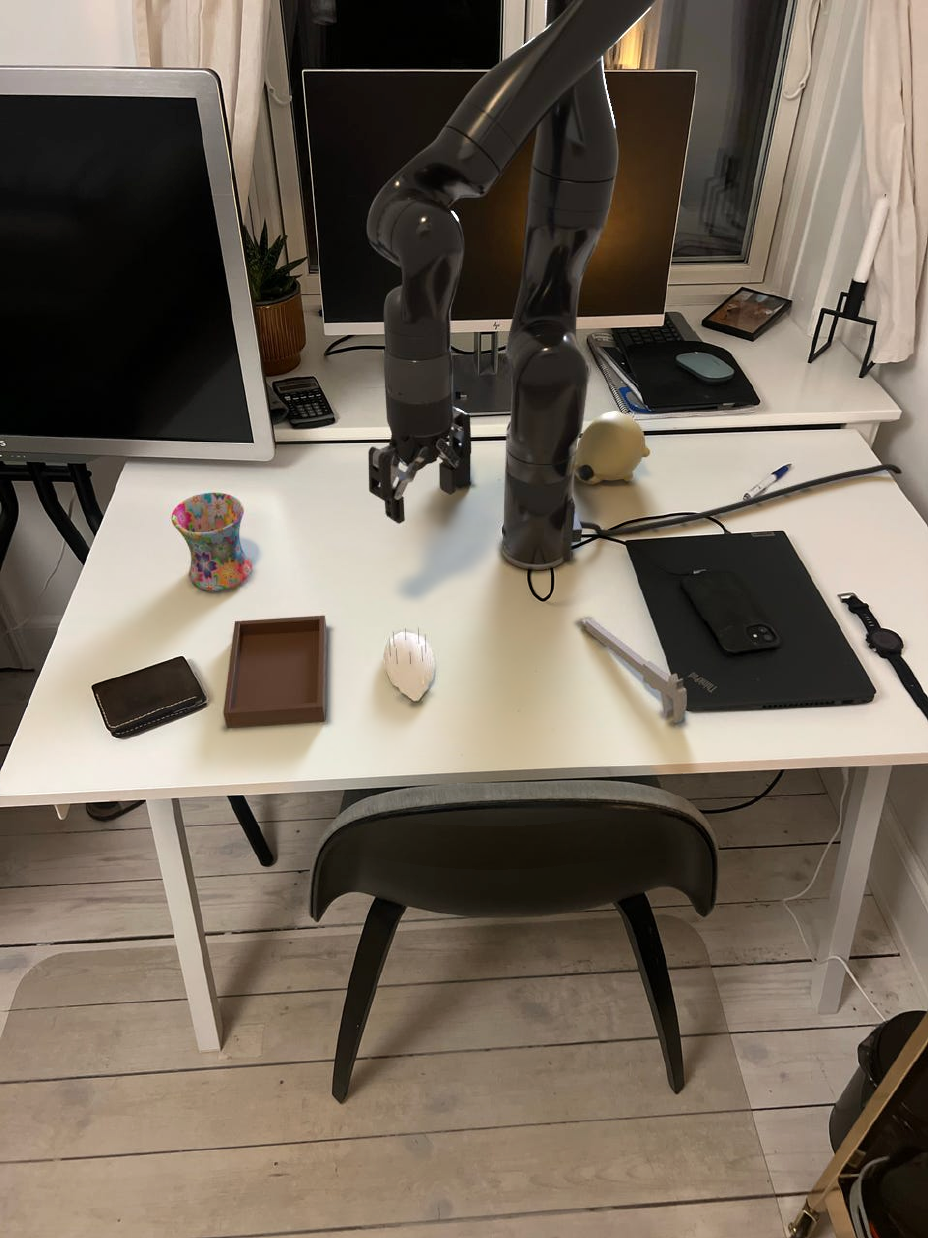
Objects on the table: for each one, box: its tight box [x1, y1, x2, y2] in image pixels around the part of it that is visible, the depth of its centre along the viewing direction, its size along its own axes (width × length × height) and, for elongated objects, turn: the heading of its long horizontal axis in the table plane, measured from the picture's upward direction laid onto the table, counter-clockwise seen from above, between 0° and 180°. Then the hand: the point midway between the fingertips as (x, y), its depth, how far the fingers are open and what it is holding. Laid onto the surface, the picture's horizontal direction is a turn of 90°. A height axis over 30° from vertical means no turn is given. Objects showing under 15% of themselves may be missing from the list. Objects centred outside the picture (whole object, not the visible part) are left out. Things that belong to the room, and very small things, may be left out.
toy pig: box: [574, 410, 651, 485], centre depth 148 cm, size 10×12×11 cm
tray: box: [222, 615, 328, 729], centre depth 117 cm, size 11×16×3 cm
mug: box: [171, 492, 252, 591], centre depth 130 cm, size 12×9×11 cm
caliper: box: [579, 617, 688, 724], centre depth 117 cm, size 20×1×6 cm, turn 28°
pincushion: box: [383, 627, 436, 702], centre depth 117 cm, size 12×6×6 cm, turn 10°
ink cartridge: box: [448, 434, 472, 489], centre depth 148 cm, size 5×2×8 cm, turn 14°
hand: (422, 505), depth 116 cm, fingers open, 8 cm apart
